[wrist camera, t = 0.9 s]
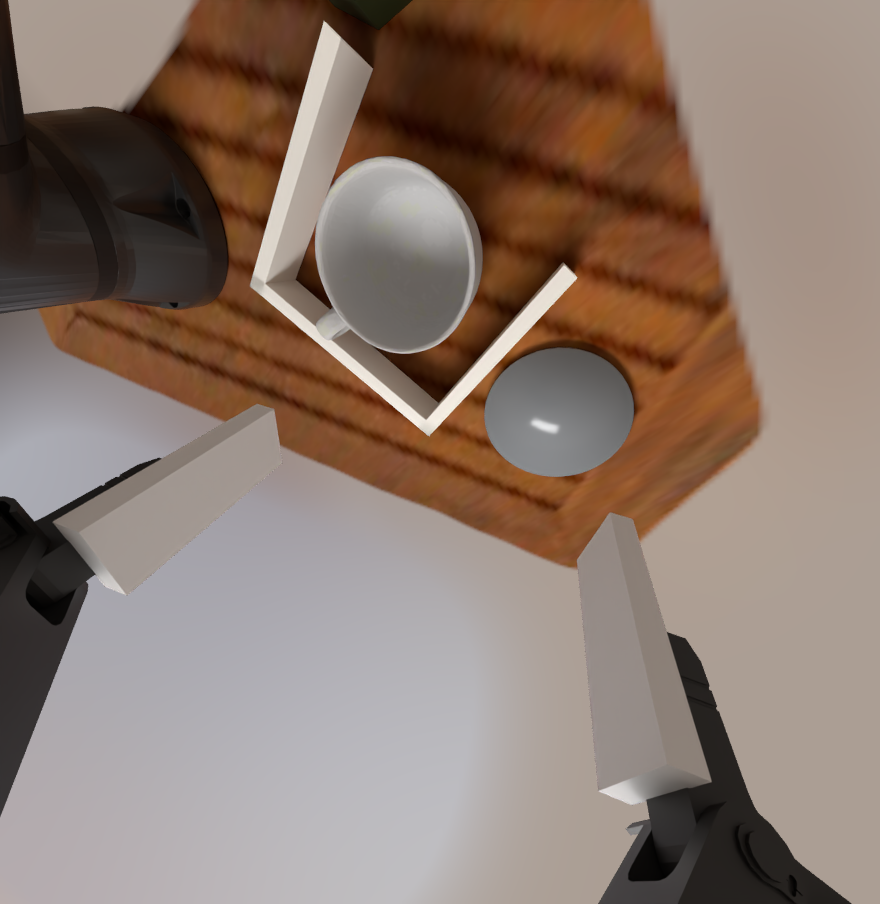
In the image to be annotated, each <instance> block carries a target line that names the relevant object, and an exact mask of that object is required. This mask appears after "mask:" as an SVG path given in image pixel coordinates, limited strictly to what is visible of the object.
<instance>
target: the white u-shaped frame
mask: <svg viewBox="0 0 880 904" xmlns="http://www.w3.org/2000/svg"><path fill="white" fill-rule="evenodd" d="M372 71H373V68H372V67H371V66H370V65H369V64H368V63H367V62H366V61H365V60H364V59H363V58H362V57H361V56H360V55H359V54H358V53H357V52H356V51H355V50H354V49H353V48H352V47H351V46H350V45H349V44H347V43H346V42H345V41H344V40H343V39H342V38H341V37H340V36H339V35H338V34H337V33H336V32H335V31H334V30H333V29H332V28H331V27H330V26H329V25H328V24H327V23H326V22H325V21H324V23H323V26H322V30H321V34H320V37H319V41H318V44H317V48H316V51H315V55H314V59H313V62H312V66H311V69H310V73H309V76H308V80H307V84H306V87H305V91H304V94H303V98H302V101H301V105H300V109H299V112H298V116H297V119H296V123H295V127H294V130H293V134H292V137H291V141H290V144H289V148H288V152H287V155H286V159H285V162H284V166H283V169H282V173H281V177H280V180H279V184H278V187H277V191H276V194H275V198H274V202H273V205H272V209H271V212H270V216H269V219H268V223H267V227H266V230H265V234H264V237H263V241H262V245H261V248H260V252H259V255H258V259H257V262H256V266H255V270H254V273H253V277H252V280H251V284H250V286H251V287H252V288H253V289H254V290H255V291H256V292H258V293H259V294H260V295H261V296H262V297H264V298H265V299H266V300H267V301H268V302H270V303H271V304H272V305H273V306H274V307H276V308H277V309H278V310H279V311H280V312H281V313H283V314H284V315H285V316H286V317H287V318H289V319H290V320H291V321H292V322H293V323H295V324H296V325H297V326H298V327H299V328H301V329H302V330H303V331H304V332H305V333H306V334H308V335H309V336H310V337H311V338H312V339H314V340H315V341H316V342H317V343H318V344H320V345H321V346H322V347H323V348H324V349H326V350H327V351H328V352H329V353H330V354H331V355H333V356H334V357H335V358H336V359H337V360H339V361H340V362H341V363H342V364H343V365H345V366H346V367H347V368H348V369H349V370H351V371H352V372H353V373H354V374H355V375H356V376H358V377H359V378H360V379H361V380H362V381H364V382H365V383H366V384H367V385H368V386H370V387H371V388H372V389H373V390H374V391H376V392H377V393H378V394H379V395H380V396H381V397H383V398H384V399H385V400H386V401H387V402H389V403H390V404H391V405H392V406H393V407H395V408H396V409H397V410H398V411H399V412H401V413H402V414H403V415H404V416H405V417H407V418H408V419H409V420H410V421H411V422H412V423H414V424H415V425H416V426H417V427H418V428H420V429H421V430H422V431H423V432H424V433H426V434H427V435H428V436H429V435H430V434H431V433H432V432H433V431H434V430H435V429H436V428H437V427H438V426H439V425H440V424H441V423H442V422H443V420H444V419H445V418H446V417H447V416H448V415H449V414H450V413H451V412H452V411H453V410H454V409H455V408H456V407H457V406H458V405H459V403H460V402H461V401H462V400H463V399H464V398H465V397H466V396H467V395H468V394H469V393H470V392H471V391H472V390H473V389H474V388H475V386H476V385H477V384H478V383H479V382H480V381H481V380H482V379H483V378H484V377H485V376H486V375H487V374H488V373H489V372H490V370H491V369H492V368H493V367H494V366H495V365H496V364H497V363H498V362H499V361H500V360H501V359H502V358H503V357H504V356H505V355H506V353H507V352H508V351H509V350H510V349H511V348H512V347H513V346H514V345H515V344H516V343H517V342H518V341H519V340H520V339H521V337H522V336H523V335H524V334H525V333H526V332H527V331H528V330H529V329H530V328H531V327H532V326H533V325H534V324H535V323H536V322H537V320H538V319H539V318H540V317H541V316H542V315H543V314H544V313H545V312H546V311H547V310H548V309H549V308H550V307H551V306H552V305H553V303H554V302H555V301H556V300H557V299H558V298H559V297H560V296H561V295H562V294H563V293H564V292H565V291H566V290H567V289H568V287H569V286H570V285H571V284H572V283H573V282H574V281H575V280H576V279H577V277H576V275H575V274H574V273H573V272H572V271H571V270H570V269H569V268H568V267H567V266H566V264H565V263H564V262H563V263H562V264H561V265H560V266H559V267H558V268H557V270H556V271H555V272H554V273H553V274H552V275H551V276H550V278H549V279H548V280H547V281H546V282H545V283H544V284H543V285H542V287H541V288H540V289H539V290H538V291H537V292H536V293H535V295H534V296H533V297H532V298H531V299H530V300H529V301H528V302H527V304H526V305H525V306H524V307H523V308H522V309H521V310H520V312H519V313H518V314H517V315H516V316H515V317H514V318H513V319H512V321H511V322H510V323H509V324H508V325H507V326H506V327H505V329H504V330H503V331H502V332H501V333H500V334H499V335H498V336H497V338H496V339H495V340H494V341H493V342H492V343H491V344H490V346H489V347H488V348H487V349H486V350H485V351H484V352H483V353H482V355H481V356H480V357H479V358H478V359H477V360H476V361H475V363H474V364H473V365H472V366H471V367H470V368H469V369H468V370H467V372H466V373H465V374H464V375H463V376H462V377H461V378H460V380H459V381H458V382H457V383H456V384H455V385H454V386H453V387H452V389H451V390H450V391H449V392H448V393H447V394H446V395H445V397H444V398H443V399H442V400H441V401H440V402H439V403H438V402H437V401H435V400H434V399H433V398H432V397H431V396H430V395H429V394H427V393H426V392H425V391H424V390H423V389H422V388H420V387H419V386H418V385H417V384H416V383H415V382H413V381H412V380H411V379H410V378H409V377H408V376H407V375H405V374H404V373H403V372H402V371H401V370H400V369H398V368H397V367H396V366H395V365H394V364H393V363H391V362H390V361H389V360H388V359H387V358H386V357H385V356H383V355H382V354H381V353H380V352H379V351H378V350H376V349H375V348H374V347H373V346H372V345H371V344H369V343H367V342H366V341H365V340H363V339H362V338H361V337H360V336H358V335H357V334H356V333H355V332H353V331H352V330H351V329H349V330H348V331H346V332H345V333H344V334H342V335H340V336H338V337H337V338H335V339H333V340H326V339H324V338H323V337H322V336H321V335H320V333H319V332H318V330H317V328H316V322H317V321H318V319H319V318H320V317H322V316H323V315H324V314H325V313H326V312H328V311H329V310H330V309H329V308H328V307H327V306H325V305H324V304H323V303H322V302H321V301H320V300H319V299H317V298H316V297H315V296H314V295H313V294H312V293H310V292H309V291H308V290H307V289H306V288H305V287H303V286H302V285H301V284H300V283H299V282H298V281H297V280H295V279H296V277H297V274H298V271H299V269H300V266H301V263H302V260H303V258H304V255H305V252H306V250H307V247H308V244H309V241H310V239H311V236H312V233H313V231H314V228H315V225H316V222H317V219H318V215H319V212H320V209H321V206H322V203H323V202H324V200H325V198H326V195H327V193H328V190H329V187H330V184H331V182H332V179H333V176H334V174H335V171H336V168H337V165H338V163H339V160H340V157H341V155H342V152H343V149H344V146H345V144H346V141H347V138H348V136H349V133H350V130H351V128H352V125H353V122H354V119H355V117H356V114H357V111H358V109H359V106H360V103H361V100H362V98H363V95H364V92H365V90H366V87H367V84H368V81H369V79H370V76H371V73H372Z"/></svg>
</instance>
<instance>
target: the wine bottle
mask: <svg viewBox="0 0 880 904" xmlns="http://www.w3.org/2000/svg"><path fill="white" fill-rule="evenodd" d="M329 1H330V2H331V3H332V4H333V5H334V6H335V7H337V8H339V9H341V10H343V11H344V12H346V13H348V14H350V15H352V16H354V17H356V18H357V19H359V20H361V21H363V22H365V23H367V24H369V25H371V26H372V27H374V28H376V29H378V30H379V29H381V28H382V27H383V26H384V25H385V24H386V23H387V22H388V21H390V20H391V19H392V18H393V17H394V16H395V15H396V14H397V13H399V12H400V11H401V10H402V9H403V8H404V7H405V6H406V5H408V4H409V3H410V2H411V1H412V0H329Z"/></svg>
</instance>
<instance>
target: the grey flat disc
mask: <svg viewBox="0 0 880 904" xmlns="http://www.w3.org/2000/svg"><path fill="white" fill-rule="evenodd" d="M633 416H634V403H633V398H632V394H631V391H630V389H629V386H628V384H627V382H626V381H625V379H624V377H623V376H622V374H621V373H620V372H619V371H618V370H617V369H616V367H615V366H613V365H612V364H611V363H610V362H609V361H607V360H606V359H604V358H602V357H601V356H599V355H597V354H594V353H592V352H590V351H586V350H583V349H579V348H572V347H554V348H546V349H542V350H538V351H535V352H532V353H530V354H527V355H525V356H523V357H521V358H520V359H518V360H516V361H515V362H514V363H512V364H511V365H510V366H508V367H507V368H506V369H505V370H504V371H503V372H502V373H501V374H500V376H499V377H498V378H497V380H496V381H495V383H494V384H493V386H492V388H491V390H490V392H489V395H488V398H487V401H486V405H485V426H486V430H487V433H488V436H489V438H490V440H491V442H492V444H493V445H494V447H495V448H496V450H497V451H498V452H499V453H500V454H501V455H502V456H503V457H504V458H505V459H506V460H507V461H509V462H510V463H511V464H513V465H515V466H516V467H518V468H520V469H522V470H524V471H527V472H530V473H533V474H537V475H542V476H553V477H560V476H570V475H575V474H579V473H582V472H586V471H588V470H590V469H593V468H595V467H597V466H598V465H600V464H602V463H603V462H605V461H606V460H608V459H609V458H610V457H611V456H612V455H613V454H615V453H616V452H617V450H618V449H619V448H620V447H621V446H622V444H623V443H624V441H625V440H626V438H627V436H628V434H629V432H630V429H631V426H632V422H633Z"/></svg>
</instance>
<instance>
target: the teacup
mask: <svg viewBox="0 0 880 904" xmlns="http://www.w3.org/2000/svg"><path fill="white" fill-rule="evenodd" d="M315 253H316V261H317V267H318V271H319V275H320V278H321V281H322V284H323V286H324V289H325V291H326V293H327V296H328V298H329V300H330V302H331V304H332V306H333V308H332V309H330V310H329V311H328V312H326V313H325V314H324V315H323V316H322V317H320V318H319V319H318V321H317V322H316V328H317V330H318V332H319V333H320V335H321V336H322V337H323V338H324V339H326V340H333V339H335V338H337V337H338V336H340V335H342V334H344V333H345V332H346V331H348V330H349V329H351V330H352V331H353V332H355V333H356V334H357V335H358V336H360V337H361V338H362V339H363V340H365V341H366V342H367V343H369V344H371V345H373V346H375V347H377V348H380V349H382V350H385V351H388V352H393V353H402V354H409V353H415V352H420V351H424V350H427V349H429V348H432V347H434V346H436V345H438V344H439V343H441V342H442V341H443V340H445V339H446V338H447V337H448V336H449V335H450V334H451V333H452V332H453V331H454V330H455V329H456V328H457V326H458V325H459V323H460V322H461V320H462V319H463V317H464V315H465V313H466V311H467V309H468V308H469V306H470V304H471V303H472V301H473V299H474V296H475V294H476V292H477V289H478V286H479V283H480V278H481V273H482V262H483V252H482V243H481V238H480V233H479V230H478V226H477V224H476V221H475V219H474V217H473V215H472V213H471V211H470V209H469V207H468V206H467V205H466V203H465V202H464V200H463V199H462V198H461V196H460V195H459V194H458V193H457V192H456V191H455V190H454V189H453V188H452V187H450V186H449V185H448V184H447V183H445V182H444V181H443V180H441V179H440V178H439V177H438V176H437V175H436V174H435V173H433V172H432V171H431V170H429V169H428V168H426V167H424V166H422V165H420V164H418V163H416V162H413V161H411V160H408V159H403V158H399V157H393V156H381V157H374V158H368V159H366V160H364V161H362V162H359V163H356V164H355V165H353V166H351V167H350V168H349V169H348V170H347V171H345V172H344V173H343V174H342V175H341V176H340V177H338V178H337V179H336V180H335V182H334V184H333V185H332V186H331V188H330V189H329V192H328V194H327V196H326V198H325V200H324V202H323V203H322V206H321V209H320V212H319V215H318V219H317V224H316V235H315Z"/></svg>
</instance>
